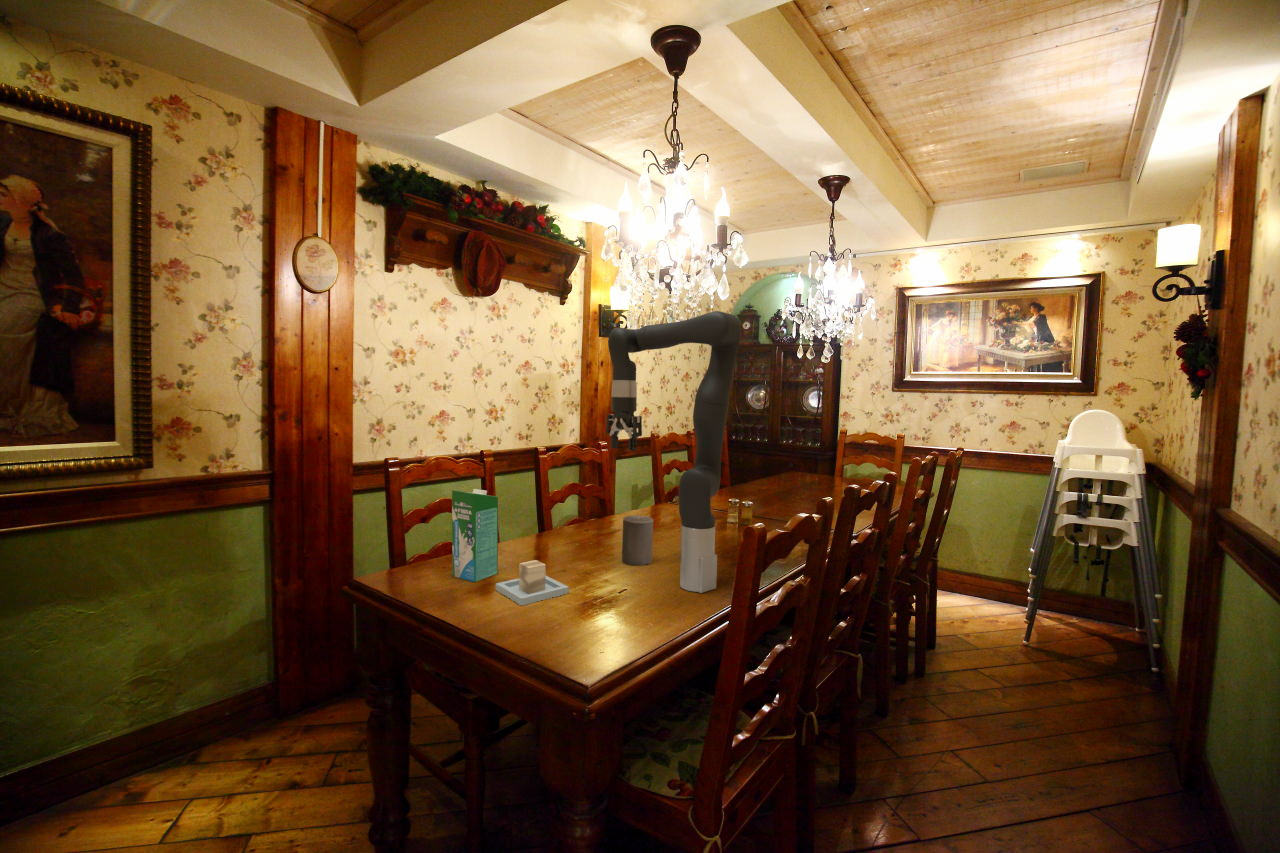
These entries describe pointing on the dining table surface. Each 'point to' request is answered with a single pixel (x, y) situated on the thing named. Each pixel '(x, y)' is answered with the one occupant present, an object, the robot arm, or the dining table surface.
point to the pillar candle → (637, 540)
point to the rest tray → (522, 598)
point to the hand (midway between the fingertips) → (623, 449)
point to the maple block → (532, 576)
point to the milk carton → (474, 535)
